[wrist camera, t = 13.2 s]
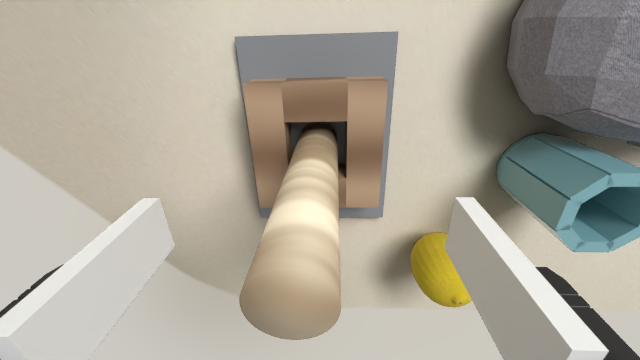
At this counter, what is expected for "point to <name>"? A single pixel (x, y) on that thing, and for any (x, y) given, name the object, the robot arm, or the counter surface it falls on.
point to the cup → (573, 191)
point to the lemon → (437, 271)
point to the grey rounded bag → (580, 64)
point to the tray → (323, 61)
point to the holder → (318, 106)
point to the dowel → (300, 246)
